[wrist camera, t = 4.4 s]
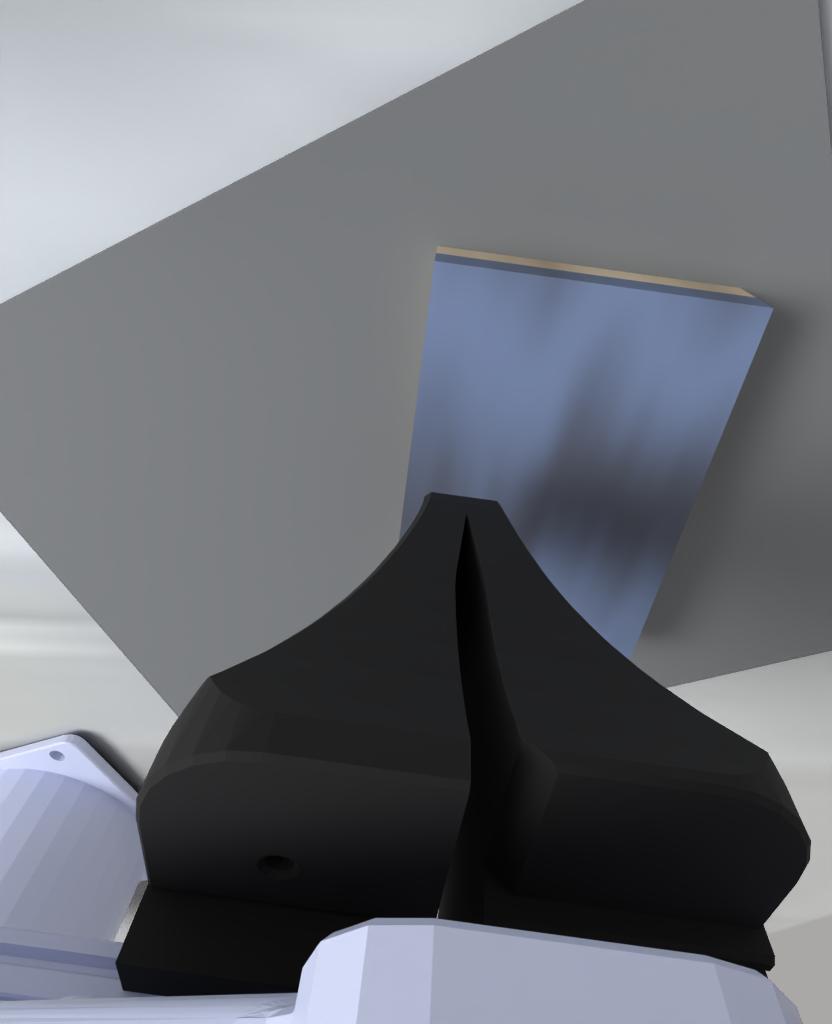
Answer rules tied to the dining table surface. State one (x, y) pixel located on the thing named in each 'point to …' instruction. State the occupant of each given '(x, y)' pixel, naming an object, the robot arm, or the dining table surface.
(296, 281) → the mat
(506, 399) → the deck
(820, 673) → the dining table surface
